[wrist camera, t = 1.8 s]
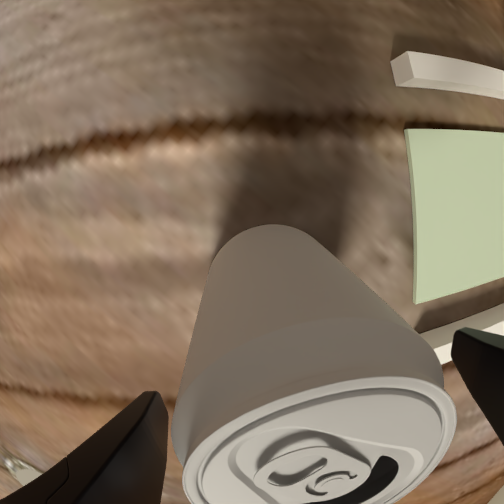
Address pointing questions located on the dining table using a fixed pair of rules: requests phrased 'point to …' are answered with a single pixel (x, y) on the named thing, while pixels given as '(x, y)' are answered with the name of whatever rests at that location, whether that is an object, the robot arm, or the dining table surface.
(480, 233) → the front pad
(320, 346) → the beverage can
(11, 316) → the dining table surface
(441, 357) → the rails
